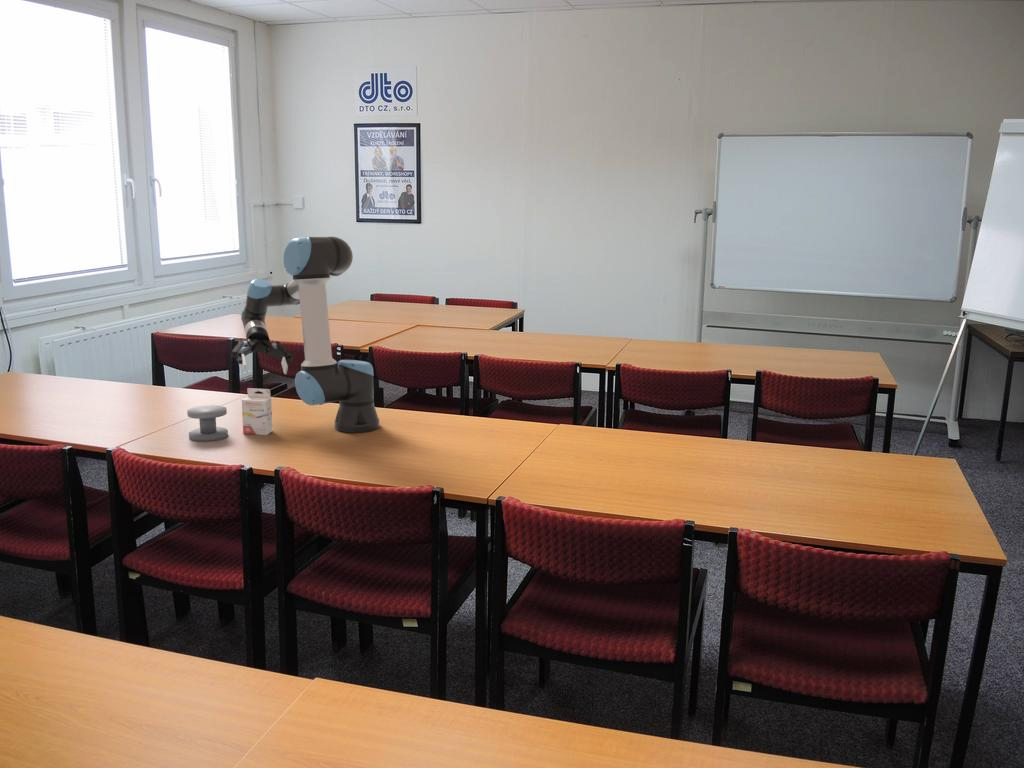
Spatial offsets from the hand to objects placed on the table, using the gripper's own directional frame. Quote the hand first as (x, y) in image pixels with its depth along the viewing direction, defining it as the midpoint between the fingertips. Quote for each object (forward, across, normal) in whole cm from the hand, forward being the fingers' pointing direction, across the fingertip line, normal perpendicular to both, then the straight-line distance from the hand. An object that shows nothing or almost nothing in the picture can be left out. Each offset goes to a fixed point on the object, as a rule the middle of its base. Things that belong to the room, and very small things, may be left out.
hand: (265, 369), depth 277 cm
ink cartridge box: (+11, +1, -18) cm, 21 cm away
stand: (+10, +16, -21) cm, 28 cm away
